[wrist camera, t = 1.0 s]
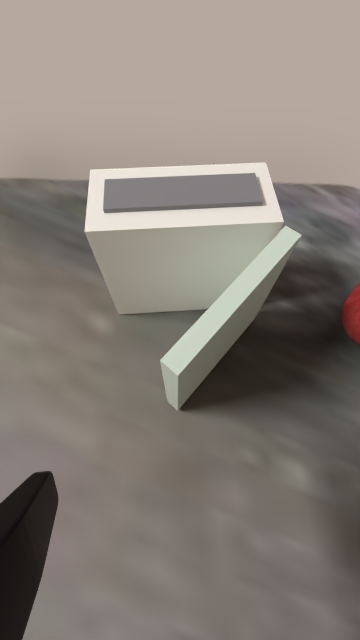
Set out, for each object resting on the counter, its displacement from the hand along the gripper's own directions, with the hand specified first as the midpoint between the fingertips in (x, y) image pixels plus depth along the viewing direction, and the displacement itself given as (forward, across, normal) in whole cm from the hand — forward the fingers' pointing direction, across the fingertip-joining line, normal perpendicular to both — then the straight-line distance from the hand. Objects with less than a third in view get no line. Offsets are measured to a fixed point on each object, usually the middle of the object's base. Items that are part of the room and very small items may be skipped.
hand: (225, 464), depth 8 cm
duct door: (+15, -2, +4) cm, 15 cm away
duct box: (+20, 0, -1) cm, 20 cm away
